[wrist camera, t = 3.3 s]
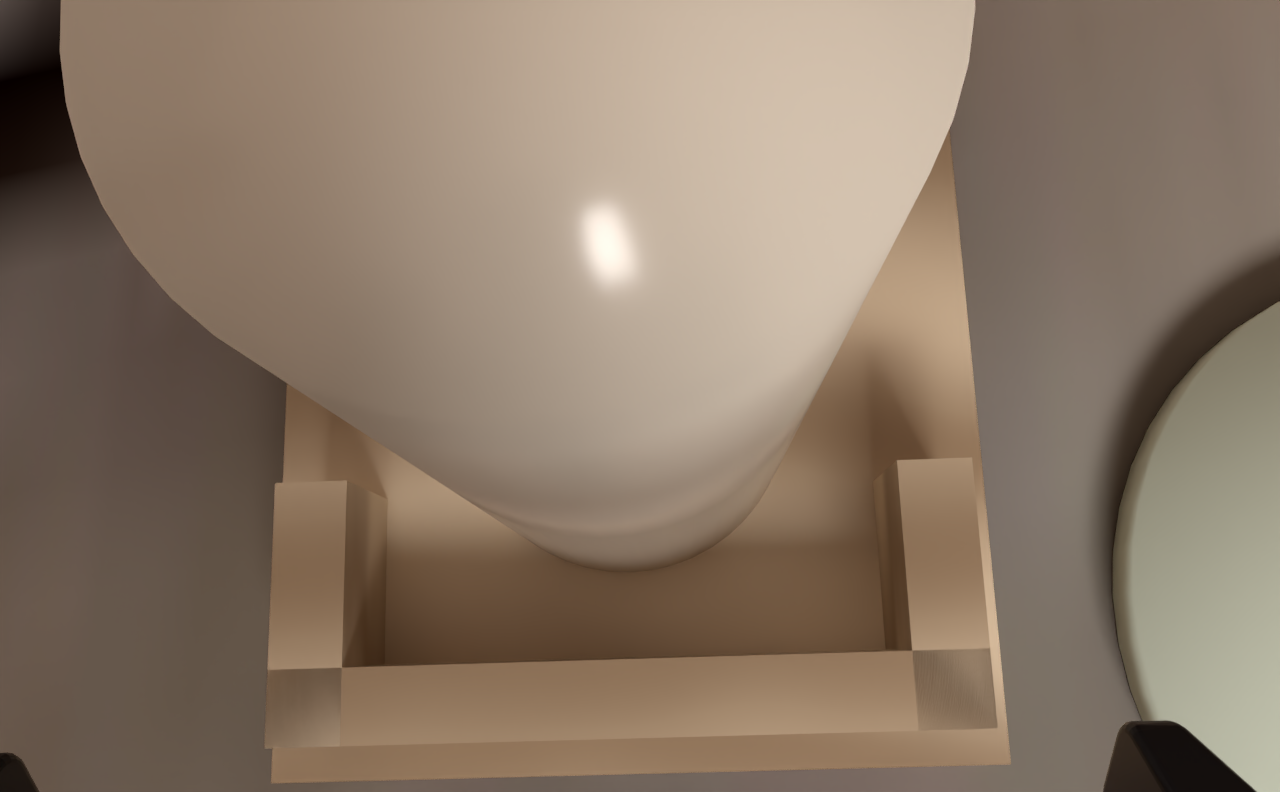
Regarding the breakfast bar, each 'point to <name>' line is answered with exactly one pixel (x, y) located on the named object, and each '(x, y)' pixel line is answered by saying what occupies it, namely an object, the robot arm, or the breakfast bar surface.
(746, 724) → the wooden tray
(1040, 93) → the breakfast bar surface
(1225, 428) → the mat
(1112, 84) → the breakfast bar surface
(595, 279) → the jug
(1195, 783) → the robot arm
